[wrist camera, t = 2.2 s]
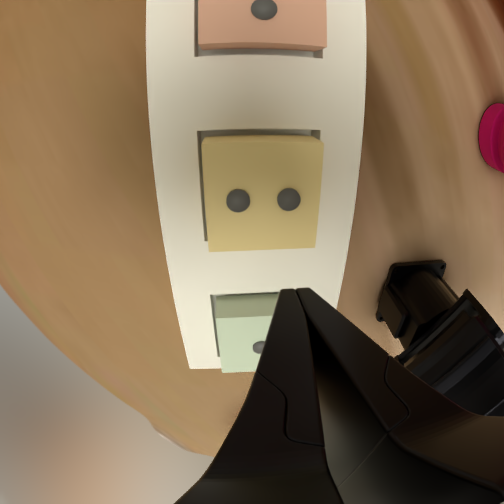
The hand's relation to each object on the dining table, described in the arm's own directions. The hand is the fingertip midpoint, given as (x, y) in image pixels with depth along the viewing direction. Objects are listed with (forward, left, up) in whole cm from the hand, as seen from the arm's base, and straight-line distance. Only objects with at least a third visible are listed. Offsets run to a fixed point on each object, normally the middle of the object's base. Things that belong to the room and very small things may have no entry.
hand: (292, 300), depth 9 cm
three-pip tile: (0, -11, -10) cm, 15 cm away
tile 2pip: (0, 0, -10) cm, 10 cm away
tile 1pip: (0, +11, -10) cm, 15 cm away
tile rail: (0, 0, -13) cm, 13 cm away
